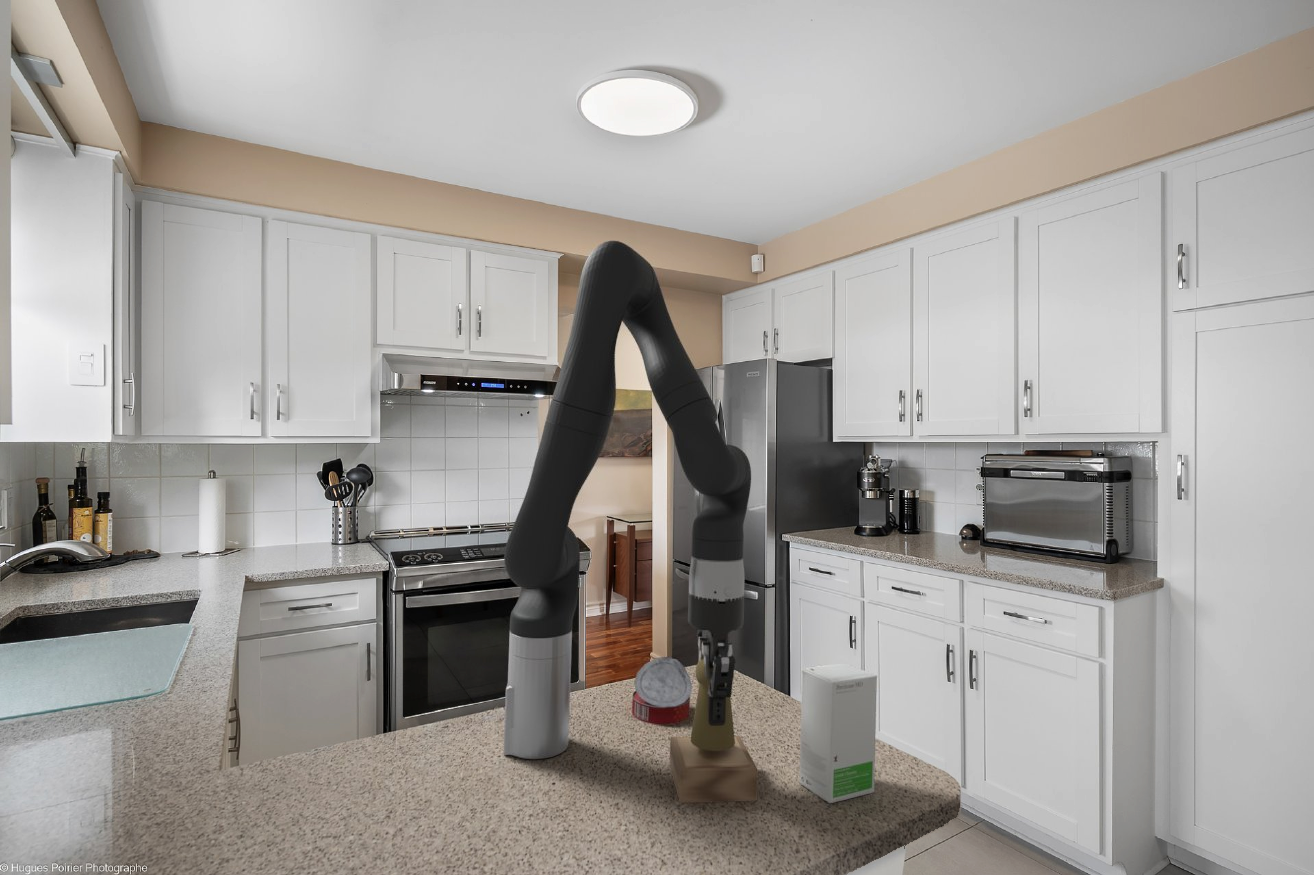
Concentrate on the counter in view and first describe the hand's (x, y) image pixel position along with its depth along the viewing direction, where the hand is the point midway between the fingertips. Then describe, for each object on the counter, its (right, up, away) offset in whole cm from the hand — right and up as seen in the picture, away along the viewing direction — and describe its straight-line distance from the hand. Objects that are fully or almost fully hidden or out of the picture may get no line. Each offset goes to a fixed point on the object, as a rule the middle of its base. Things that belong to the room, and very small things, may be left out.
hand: (713, 717), depth 90 cm
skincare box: (+16, -9, 0) cm, 19 cm away
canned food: (-7, -9, +23) cm, 26 cm away
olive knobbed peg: (0, -3, 0) cm, 3 cm away
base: (0, -9, 0) cm, 9 cm away
